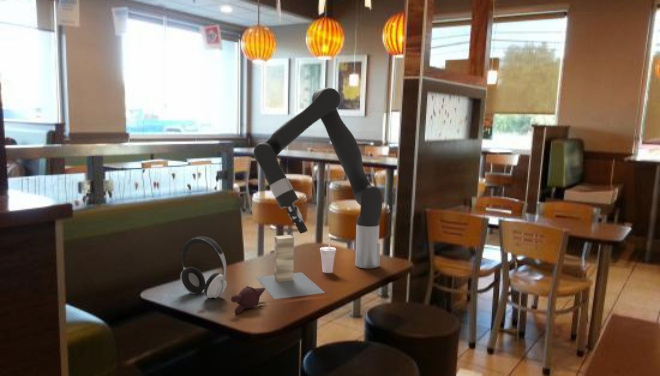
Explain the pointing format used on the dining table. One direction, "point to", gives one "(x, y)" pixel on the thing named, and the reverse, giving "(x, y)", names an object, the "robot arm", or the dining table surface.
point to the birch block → (284, 258)
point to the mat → (289, 286)
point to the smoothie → (327, 258)
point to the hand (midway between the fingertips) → (304, 232)
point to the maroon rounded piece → (247, 298)
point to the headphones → (195, 279)
